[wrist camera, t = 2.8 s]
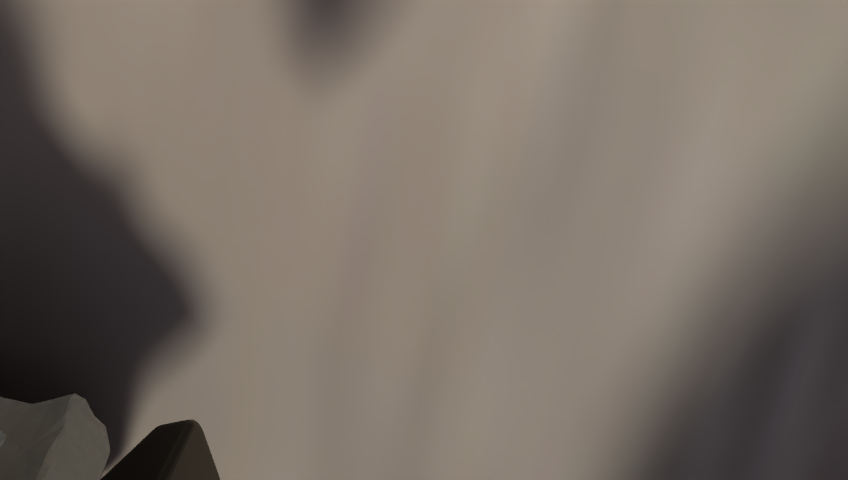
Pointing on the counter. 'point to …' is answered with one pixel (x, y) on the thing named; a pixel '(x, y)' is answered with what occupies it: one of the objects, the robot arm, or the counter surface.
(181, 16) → the counter surface
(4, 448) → the egg carton
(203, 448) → the robot arm
